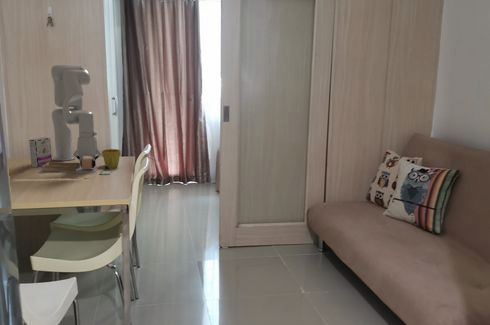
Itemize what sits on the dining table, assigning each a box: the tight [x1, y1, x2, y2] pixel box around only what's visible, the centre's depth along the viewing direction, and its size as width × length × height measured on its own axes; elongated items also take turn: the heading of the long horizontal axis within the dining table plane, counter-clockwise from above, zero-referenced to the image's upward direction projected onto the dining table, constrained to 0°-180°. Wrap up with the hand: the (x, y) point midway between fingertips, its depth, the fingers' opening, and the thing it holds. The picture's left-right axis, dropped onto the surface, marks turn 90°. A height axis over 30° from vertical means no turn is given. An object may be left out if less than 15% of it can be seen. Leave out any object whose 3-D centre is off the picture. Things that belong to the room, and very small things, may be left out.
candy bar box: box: [28, 137, 53, 168], centre depth 248 cm, size 11×5×16 cm, turn 161°
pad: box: [98, 170, 112, 176], centre depth 237 cm, size 7×7×1 cm
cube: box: [82, 157, 93, 169], centre depth 239 cm, size 5×5×5 cm
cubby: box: [41, 162, 80, 172], centre depth 238 cm, size 10×17×3 cm, turn 98°
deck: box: [37, 165, 101, 174], centre depth 240 cm, size 18×29×1 cm, turn 98°
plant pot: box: [101, 148, 122, 169], centre depth 253 cm, size 10×10×10 cm
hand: (88, 167), depth 240 cm, fingers closed on cube, 5 cm apart
